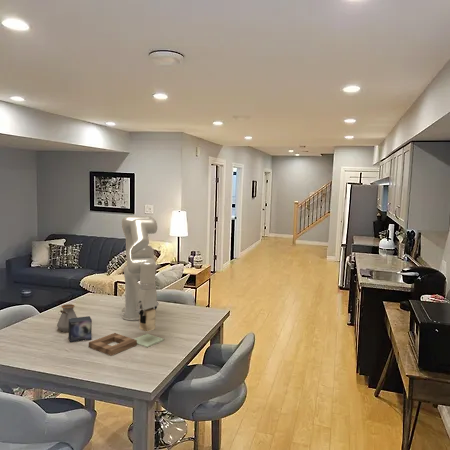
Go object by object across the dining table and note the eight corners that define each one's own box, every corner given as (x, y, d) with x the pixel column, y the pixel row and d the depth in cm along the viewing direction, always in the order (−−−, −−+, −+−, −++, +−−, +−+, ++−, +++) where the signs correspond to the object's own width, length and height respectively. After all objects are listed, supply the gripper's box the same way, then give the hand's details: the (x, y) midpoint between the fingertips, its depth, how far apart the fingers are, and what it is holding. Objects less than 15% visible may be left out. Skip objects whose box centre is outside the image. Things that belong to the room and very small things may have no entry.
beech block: (139, 329, 206) (139, 309, 205) (147, 326, 211) (147, 307, 210) (147, 331, 203) (147, 311, 202) (155, 328, 208) (155, 309, 207)
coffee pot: (60, 325, 225) (59, 299, 224) (81, 325, 227) (81, 298, 225) (48, 340, 204) (48, 311, 203) (72, 340, 206) (72, 311, 204)
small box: (69, 343, 202) (69, 322, 201) (68, 338, 208) (67, 318, 207) (92, 339, 207) (92, 319, 206) (89, 335, 213) (89, 315, 212)
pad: (129, 341, 206) (129, 340, 206) (147, 334, 216) (147, 333, 216) (147, 347, 199) (147, 346, 199) (164, 340, 209) (164, 339, 209)
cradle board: (88, 347, 198) (88, 342, 197) (114, 337, 211) (114, 332, 211) (111, 355, 189) (111, 350, 188) (136, 345, 202) (136, 340, 202)
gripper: (154, 281, 214) (153, 315, 216) (129, 288, 200) (129, 324, 201) (165, 284, 210) (164, 318, 211) (140, 290, 196) (140, 327, 197)
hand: (147, 321), depth 206 cm, fingers closed on beech block, 5 cm apart
